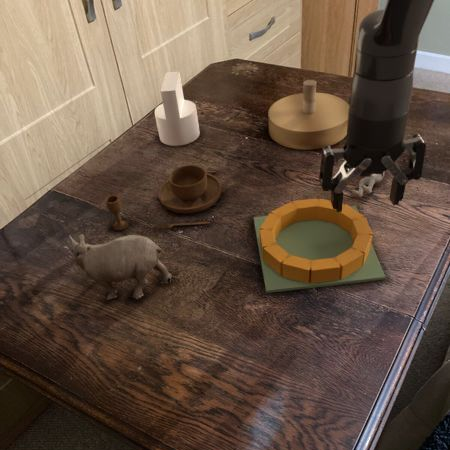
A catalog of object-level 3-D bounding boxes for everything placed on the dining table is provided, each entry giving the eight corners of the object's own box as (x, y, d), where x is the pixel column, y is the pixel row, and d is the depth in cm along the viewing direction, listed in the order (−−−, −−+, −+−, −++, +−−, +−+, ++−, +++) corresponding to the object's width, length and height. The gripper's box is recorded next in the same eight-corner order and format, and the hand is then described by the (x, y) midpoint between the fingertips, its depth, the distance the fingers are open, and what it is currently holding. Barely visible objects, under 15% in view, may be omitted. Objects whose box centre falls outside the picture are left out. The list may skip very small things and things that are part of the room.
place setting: (222, 224, 87) (218, 197, 82) (111, 233, 88) (102, 206, 84) (222, 169, 99) (219, 142, 94) (124, 177, 100) (116, 152, 96)
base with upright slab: (162, 126, 113) (151, 73, 104) (201, 123, 112) (193, 70, 103) (157, 147, 107) (145, 92, 98) (198, 144, 106) (190, 89, 97)
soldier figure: (339, 196, 91) (360, 146, 94) (358, 211, 92) (377, 161, 96) (369, 183, 84) (390, 129, 88) (389, 199, 85) (408, 146, 89)
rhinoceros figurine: (172, 300, 72) (97, 225, 66) (115, 328, 80) (43, 264, 74) (188, 267, 78) (120, 195, 71) (133, 297, 85) (68, 234, 79)
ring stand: (338, 105, 112) (342, 60, 105) (357, 144, 100) (362, 96, 93) (264, 114, 112) (262, 70, 105) (274, 154, 101) (273, 107, 93)
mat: (355, 207, 86) (355, 205, 86) (385, 279, 74) (385, 277, 74) (253, 219, 87) (253, 217, 86) (266, 293, 75) (266, 290, 74)
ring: (353, 206, 86) (355, 193, 84) (382, 275, 74) (384, 262, 72) (255, 218, 86) (254, 205, 84) (268, 288, 74) (267, 275, 72)
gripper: (329, 125, 61) (324, 226, 73) (445, 110, 61) (420, 214, 73) (318, 97, 66) (314, 196, 78) (424, 83, 66) (405, 185, 78)
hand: (365, 205), depth 75 cm, fingers open, 8 cm apart
